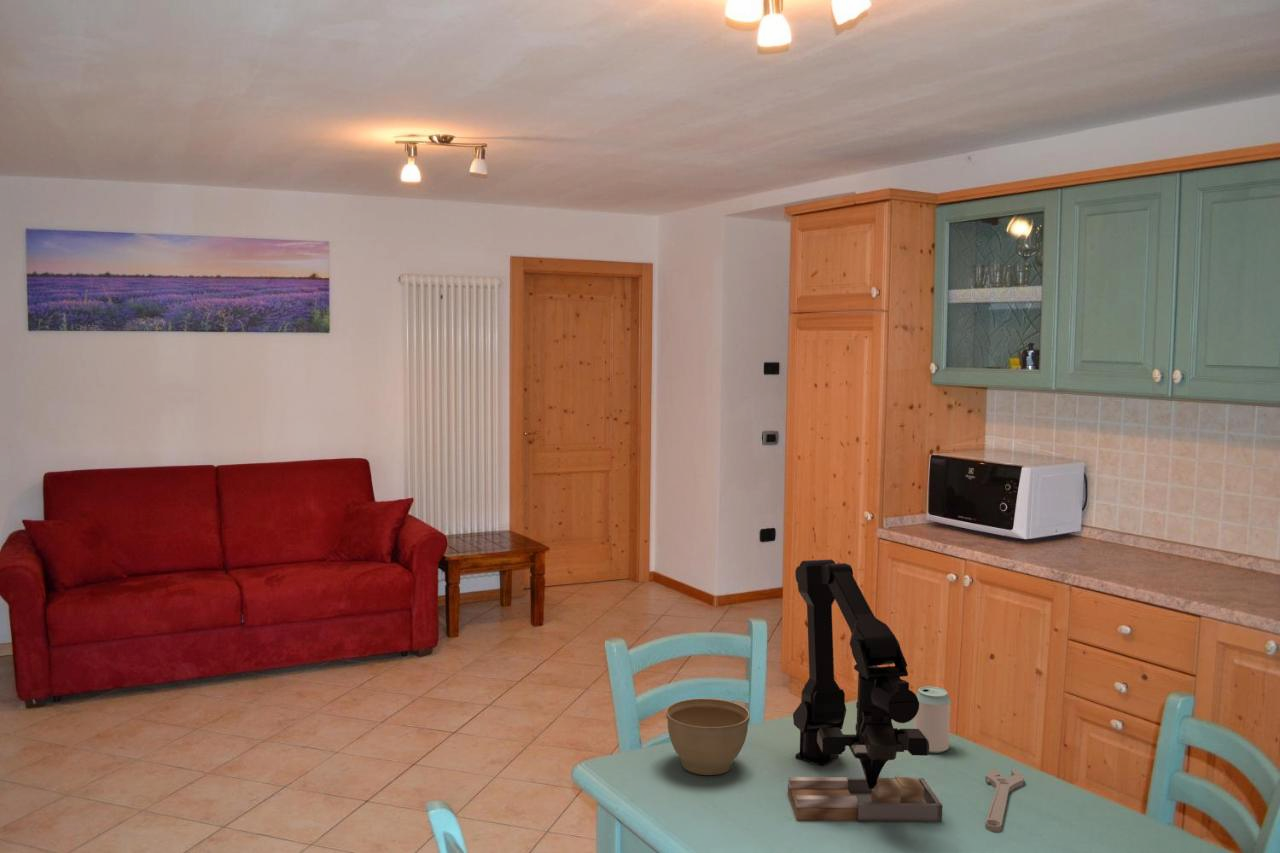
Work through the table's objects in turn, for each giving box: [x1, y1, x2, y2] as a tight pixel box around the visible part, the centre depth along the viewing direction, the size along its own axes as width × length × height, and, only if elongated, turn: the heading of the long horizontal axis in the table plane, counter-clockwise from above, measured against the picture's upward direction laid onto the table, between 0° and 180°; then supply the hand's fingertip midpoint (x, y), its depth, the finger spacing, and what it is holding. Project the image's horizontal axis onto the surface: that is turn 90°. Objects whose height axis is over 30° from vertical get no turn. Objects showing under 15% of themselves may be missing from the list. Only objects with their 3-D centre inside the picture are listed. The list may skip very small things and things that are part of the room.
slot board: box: [787, 776, 858, 822], centre depth 177 cm, size 10×10×4 cm
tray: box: [846, 777, 944, 823], centre depth 177 cm, size 14×11×3 cm
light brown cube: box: [894, 775, 924, 803], centre depth 177 cm, size 4×4×4 cm
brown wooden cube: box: [871, 777, 902, 803], centre depth 177 cm, size 4×4×4 cm
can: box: [913, 686, 952, 754], centre depth 204 cm, size 7×7×12 cm
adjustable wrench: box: [984, 768, 1025, 833], centre depth 181 cm, size 25×6×2 cm, turn 150°
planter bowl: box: [665, 698, 751, 776], centre depth 193 cm, size 16×16×11 cm
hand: (870, 787), depth 177 cm, fingers closed
